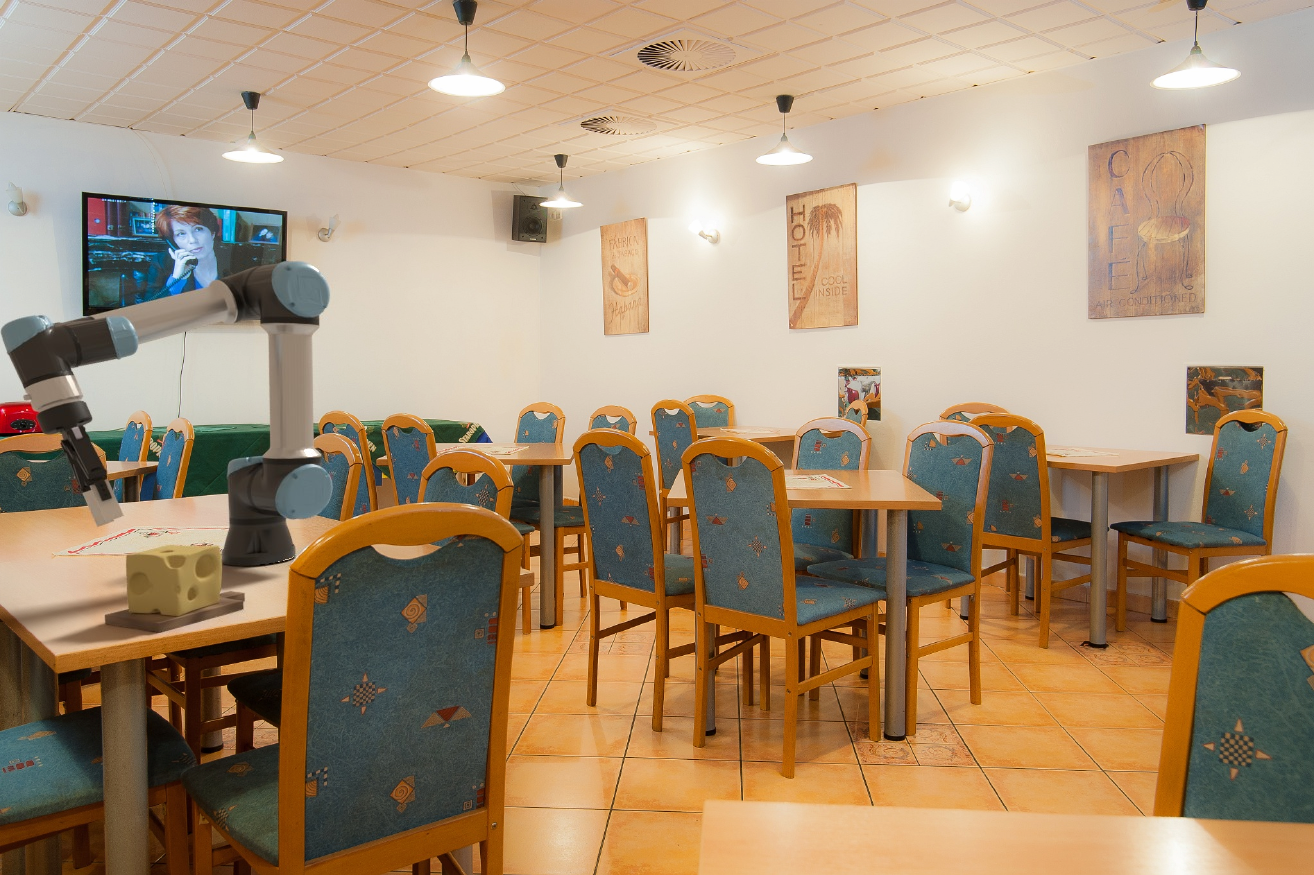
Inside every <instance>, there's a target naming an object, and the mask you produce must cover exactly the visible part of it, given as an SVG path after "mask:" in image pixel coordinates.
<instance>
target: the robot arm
mask: <svg viewBox="0 0 1314 875" xmlns="http://www.w3.org/2000/svg"><path fill="white" fill-rule="evenodd" d="M330 299H331V291H330V287H329V284H328V282H327V279H326V277H325V276H324V275H323V274H322V273H321V271H319V269H318V268H317V267H315V266H314V265H313V264H310V263H307V262H304V261H299V260H298V261H294V260H292V261H289V260H285V261H281V262H277V263H272V264H271V263H269V264H262V265H261V264H260V265H258V266H254V267H250V268H248V269H245V270H243V271H239V272H237V273H235V274H232V275H229V276H225V277H222V278H218V279H215V280H212V281H211V282H210V283H209V285H208V286H207V287H202V288H198V289H195V290H190V291H186V292H182V293H178V294H174V295H170V296H169V295H168V296H165V297H161V298H157V299H154V300H150V301H145V302H141V303H136V304H133V305H129V306H125V307H121V308H117V309H113V310H109V311H104V312H100V313H97V314H92V315H88V316H85V317H80V318H76V319H71V320H68V321H63V322H60V321H59V322H54V323H53V322H52V321H51V319H50V318H49V317H48V316H46V315H43V314H40V315H35V314H34V315H29V316H24V317H19V318H17V319H14V320H11V321H9V322H7V323H5V324H4V325H3V326H2V327H1V328H0V329H1V330H0V335H1V338H2V343H3V345H4V347H5V350H6V354H7V355H8V357H9V359H10V360H11V362H12V365H13V367H14V370H15V371H16V374H17V376H18V378H19V380H20V382H21V384H22V387H23V389H24V391H25V393H26V394H24V395H23V397H22V398H23V400H24V401H30V405H31V408H32V410H33V411H34V412H38V413H37V414H36V416H35V417H36V421H37V422H38V425H39V427H40V429H41V432H42V433H43V434H44V435H56V434H59V433H60V434H61V436H62V439H60V444H59V445H60V447H61V449H62V450H63V453H64V454H65V456H66V459H67V461H68V462H69V465H70V468H71V470H72V473H73V476H74V479H75V480H76V481H75V482H76V484H77V488H78V490H79V491H80V492H81V493H82V495H83V497H84V500H85V502H86V505H87V507H88V509H89V511H90V514H91V517H92V518H93V521H94V523H95V525H96V527H97V528H98V527H102V526H105V525H108V524H110V523H112V522H115V520H116V519H119V518H121V517H124V516H125V515H124V513H123V511H122V509H121V506H120V504H119V502H118V499H117V497H116V495H115V492H114V490H113V488H112V486H111V483H110V480H109V479H108V471H107V469H106V468H105V466H104V464H103V463H102V460H101V458H100V456H99V455H98V452H97V451H96V449H95V447H94V445H93V442H92V441H91V438H90V436H89V435H90V434H88V433H87V431H86V427H85V426H86V425H88V424H90V423H92V421H93V415H92V413H91V410H90V409H89V407H88V405H87V402H86V401H84V400H83V398H84V394H83V391H82V390H81V387H80V385H79V383H78V380H77V378H76V376H75V374H74V371H73V370H72V369H75V368H79V367H83V366H89V365H94V364H98V363H100V364H101V363H104V362H109V361H113V360H114V361H115V360H121V359H123V358H126V357H129V356H133V355H135V354H136V352H138V348H139V345H142V344H147V343H149V342H152V341H156V340H160V339H164V338H167V337H170V336H174V335H179V334H181V333H185V332H189V331H192V330H193V331H194V330H196V329H199V328H200V329H201V328H203V327H207V326H211V325H215V324H218V323H223V324H226V325H233V324H235V323H241V322H247V321H257V320H258V321H259V320H260V321H259V322H260V323H259V326H260V327H261V328H262V329H263V330H264V331H265V332H266V333H267V335H268V337H267V338H268V385H269V386H268V387H269V389H268V390H269V392H268V393H269V394H268V395H269V437H270V438H269V443H270V444H269V448H268V450H266V452H265V453H264V454H263V455H259V456H250V457H249V456H248V457H240V458H235V459H234V458H233V459H232V460H230V461H229V462H228V465H227V473H226V480H227V495H228V496H227V498H228V521H229V522H228V524H229V527H228V530H227V534H226V538H225V541H224V545H223V549H222V551H221V561H222V565H228V566H239V567H240V566H241V567H242V566H243V567H244V566H245V567H246V566H247V567H249V566H261V565H260V564H265V565H270V564H269V563H273V564H276V563H275V562H278V561H283V560H285V559H289V558H292V557H293V556H294V558H293V559H295V558H296V556H297V554H296V545H295V544H294V541H293V538H292V534H291V532H290V530H289V527H288V525H287V519H288V520H293V521H294V520H307V519H311V518H314V517H315V516H317V515H319V514H320V513H321V512H322V511H323V510H324V509H325V508H326V507H327V506H328V504H329V502H330V500H331V498H332V494H333V489H334V488H333V487H334V486H333V480H332V478H331V475H330V474H329V473H328V472H327V470H326V469H325V468H323V467H322V453H320V452H319V450H317V448H315V446H314V445H315V442H314V441H315V440H314V437H315V436H314V384H313V383H314V381H313V380H314V377H313V376H314V374H313V371H314V370H313V335H314V334H315V332H317V331H318V330H319V329H320V315H321V314H322V313H323V312H325V310H326V309H327V308H328V307H329V306H328V305H329V303H330ZM295 554H296V555H295Z"/></svg>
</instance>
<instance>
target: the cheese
mask: <svg viewBox="0 0 1314 875" xmlns="http://www.w3.org/2000/svg"><path fill="white" fill-rule="evenodd" d="M221 554H222V552H221V548H220V546H219V545H179V544H168V545H164V546H163V545H162V546H159V547H156V548H153V549H147V550H143V551H139V552H133V553H128V554H126V557H125V571H126V575H125V576H126V596H127V605H128V608H127V609H129V612H130V613H148V614H150V613H160V612H161V614H162V615H169V616H181V615H183V614H186V613H188V612H191V611H194V610H197V609H200V608H203V607H206V606H210V605H213V604H216V603H219V596H220V593H221V589H222V580H223V579H222V577H223V575H222V574H223V563H222V556H221Z"/></svg>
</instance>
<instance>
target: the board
mask: <svg viewBox="0 0 1314 875" xmlns="http://www.w3.org/2000/svg"><path fill="white" fill-rule="evenodd" d="M245 594H246V593H245V592H241V591H234V590H233V591H232V590H229V591H224V592H222V593H221V592H220V596H219V603H216V604H213V605H210V606H206V607H203V608H200V609H197V610H194V611H191V612H188V613H186V614H183V615H181V616H169V615H162V614H161V612H160V613H150V614H148V613H130V612H129V608H127V609H124V610H118V611H114V612H111V613H107V614H104V624H105V625H110V626H116V627H123V628H129V629H135V630H140V629H141V631H145V632H152V631H155V632H154V633H158V632H160V633H162V632H161V631H163V632H167V631H169V630H170V629H171V630H173V629H177V627H178V628H180V627H184V625H185V626H189V625H192V624H196V623H200V622H202V621H201V620H203V621H206V619H207V620H210V619H214V618H217V617H221V616H224V615H227V614H232V613H235V612H238V611H242V609H243V610H244V602H245V601H246V597H245ZM216 616H217V617H216ZM209 618H210V619H209ZM191 623H192V624H191ZM166 630H167V631H166ZM171 630H170V631H171Z"/></svg>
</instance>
